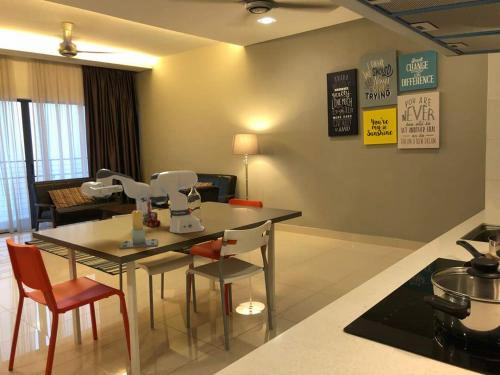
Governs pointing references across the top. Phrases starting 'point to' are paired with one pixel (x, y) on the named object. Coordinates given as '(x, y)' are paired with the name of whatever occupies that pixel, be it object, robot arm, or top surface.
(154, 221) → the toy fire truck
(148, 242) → the tower base
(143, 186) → the robot arm
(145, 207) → the juice carton
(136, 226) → the round brick
